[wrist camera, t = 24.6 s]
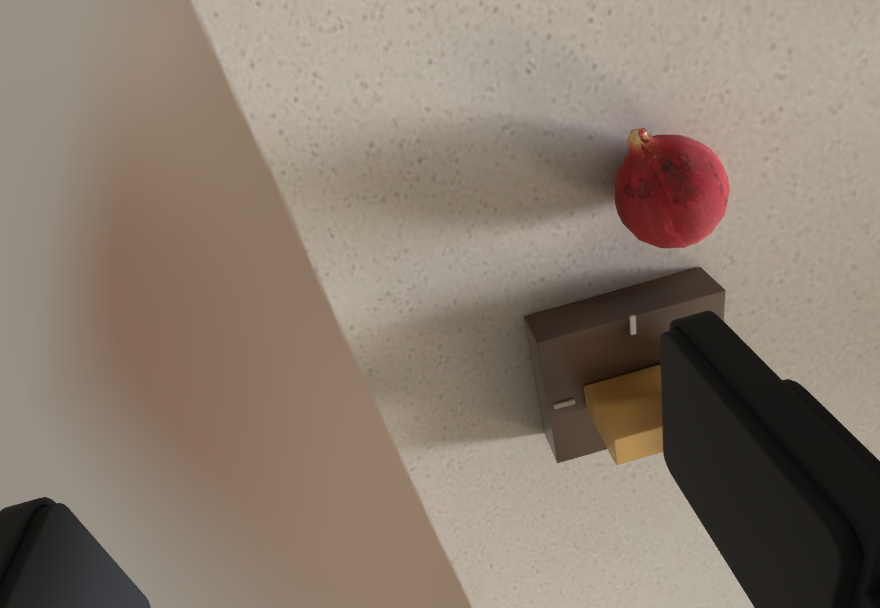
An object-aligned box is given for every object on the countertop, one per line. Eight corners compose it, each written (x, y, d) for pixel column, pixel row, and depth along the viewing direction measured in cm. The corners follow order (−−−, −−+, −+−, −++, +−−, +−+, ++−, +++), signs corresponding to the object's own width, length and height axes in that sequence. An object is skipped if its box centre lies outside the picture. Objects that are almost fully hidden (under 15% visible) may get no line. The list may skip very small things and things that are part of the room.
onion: (773, 228, 32) (714, 111, 28) (679, 294, 34) (610, 191, 30) (714, 188, 37) (656, 83, 33) (633, 246, 39) (569, 152, 34)
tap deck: (544, 434, 46) (558, 466, 43) (523, 314, 40) (537, 343, 37) (698, 391, 46) (721, 419, 44) (700, 265, 40) (727, 290, 37)
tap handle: (586, 409, 41) (617, 468, 37) (583, 385, 40) (615, 443, 36) (686, 381, 41) (730, 436, 37) (686, 356, 40) (731, 410, 36)
